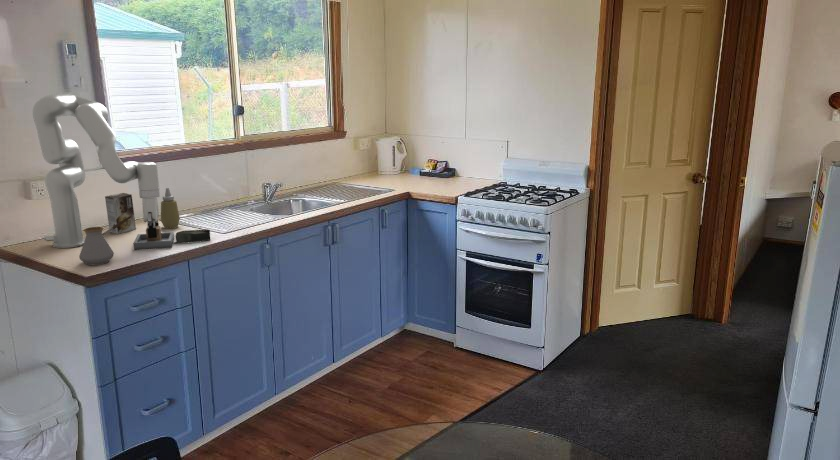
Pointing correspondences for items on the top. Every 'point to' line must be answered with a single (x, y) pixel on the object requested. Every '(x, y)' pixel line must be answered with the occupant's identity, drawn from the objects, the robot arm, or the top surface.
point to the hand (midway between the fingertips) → (153, 234)
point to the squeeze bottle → (169, 211)
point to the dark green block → (192, 236)
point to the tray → (154, 242)
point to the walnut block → (158, 231)
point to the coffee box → (120, 212)
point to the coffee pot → (97, 245)
